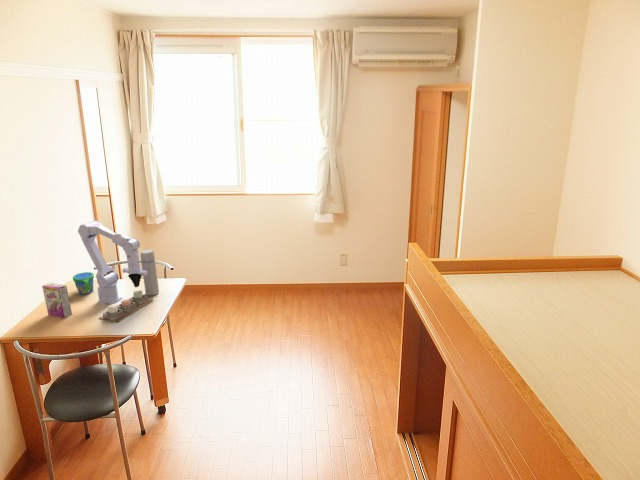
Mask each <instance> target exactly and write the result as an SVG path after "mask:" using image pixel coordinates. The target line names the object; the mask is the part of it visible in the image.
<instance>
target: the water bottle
mask: <svg viewBox="0 0 640 480" xmlns="http://www.w3.org/2000/svg"><path fill="white" fill-rule="evenodd" d="M139 261H140V262H141V263H140V264H141V269H142V270H145V271H147V272H148V275H146V276H144V275H142V276H143V277H142V278H143V284H144V292H145V294H146V295H147V296H155V295H158V294H159V292H160V287H159V281H158V273H157V272H158V271H157V266H156V265H157V264H156V257H155V251H154V250H153V249H144V250H141V251H140V259H139Z"/></svg>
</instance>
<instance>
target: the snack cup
mask: <svg viewBox="0 0 640 480" xmlns="http://www.w3.org/2000/svg"><path fill="white" fill-rule="evenodd" d="M94 277H95V274H94V273H93V272H89V271H88V272H79V273H77V274H75V275H73V276H72V281H74V284H75V287H76V290H77V293H78V294H79V295H88V294H90V293H93V292H94Z"/></svg>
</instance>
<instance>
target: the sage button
mask: <svg viewBox="0 0 640 480" xmlns="http://www.w3.org/2000/svg"><path fill="white" fill-rule="evenodd" d="M143 295H144V294H143V290H134V291H133V296H134V299H136V300H140V299H142V298H143Z"/></svg>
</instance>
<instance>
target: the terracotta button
mask: <svg viewBox="0 0 640 480" xmlns="http://www.w3.org/2000/svg"><path fill="white" fill-rule="evenodd" d="M120 304H122V306H123V307H128V306H130V305H131V301H130V300H129V298H128V299H122V300H121V303H120Z"/></svg>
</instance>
